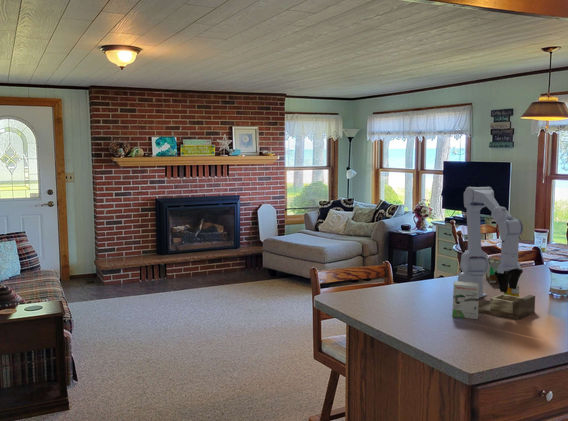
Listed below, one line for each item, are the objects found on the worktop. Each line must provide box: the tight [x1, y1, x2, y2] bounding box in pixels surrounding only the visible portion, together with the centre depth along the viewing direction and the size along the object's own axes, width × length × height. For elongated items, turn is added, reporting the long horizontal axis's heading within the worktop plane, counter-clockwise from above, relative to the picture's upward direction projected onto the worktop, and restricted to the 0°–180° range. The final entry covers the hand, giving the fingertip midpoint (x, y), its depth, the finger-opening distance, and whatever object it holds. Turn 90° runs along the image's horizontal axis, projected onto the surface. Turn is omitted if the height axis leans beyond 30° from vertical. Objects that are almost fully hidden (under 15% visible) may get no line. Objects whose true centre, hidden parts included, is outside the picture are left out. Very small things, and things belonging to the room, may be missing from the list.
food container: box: [485, 257, 501, 285], centre depth 246 cm, size 12×6×10 cm, turn 168°
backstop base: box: [478, 294, 536, 321], centre depth 200 cm, size 19×14×6 cm
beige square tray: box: [489, 293, 522, 314], centre depth 198 cm, size 9×9×4 cm
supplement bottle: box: [503, 282, 520, 297], centre depth 212 cm, size 5×5×10 cm
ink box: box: [451, 280, 480, 320], centre depth 192 cm, size 9×5×12 cm, turn 73°
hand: (508, 290), depth 197 cm, fingers open, 7 cm apart
